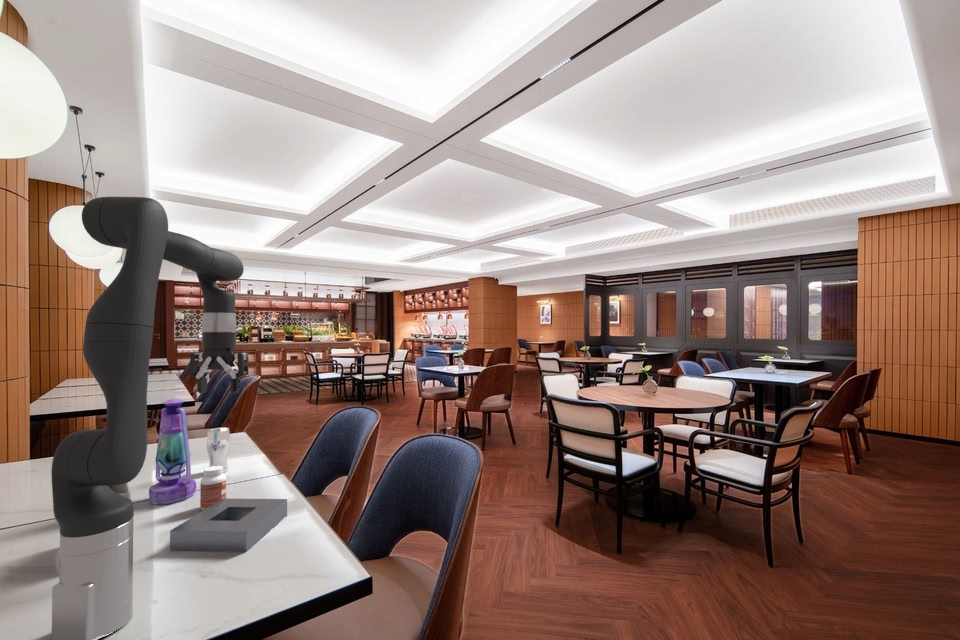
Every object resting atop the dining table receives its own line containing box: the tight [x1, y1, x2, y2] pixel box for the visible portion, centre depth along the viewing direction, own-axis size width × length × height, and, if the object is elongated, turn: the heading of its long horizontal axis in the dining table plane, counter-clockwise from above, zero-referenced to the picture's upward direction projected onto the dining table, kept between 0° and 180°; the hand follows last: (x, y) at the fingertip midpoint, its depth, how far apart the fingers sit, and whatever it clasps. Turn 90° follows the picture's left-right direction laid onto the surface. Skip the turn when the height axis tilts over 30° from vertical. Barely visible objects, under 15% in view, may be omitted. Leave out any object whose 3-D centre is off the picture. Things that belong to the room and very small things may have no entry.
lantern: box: [148, 397, 197, 505], centre depth 124 cm, size 13×12×30 cm
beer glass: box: [206, 426, 231, 474], centre depth 147 cm, size 7×7×15 cm
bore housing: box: [169, 498, 288, 553], centre depth 103 cm, size 18×18×4 cm
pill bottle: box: [199, 466, 227, 511], centre depth 117 cm, size 6×6×11 cm
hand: (219, 393), depth 107 cm, fingers open, 8 cm apart
